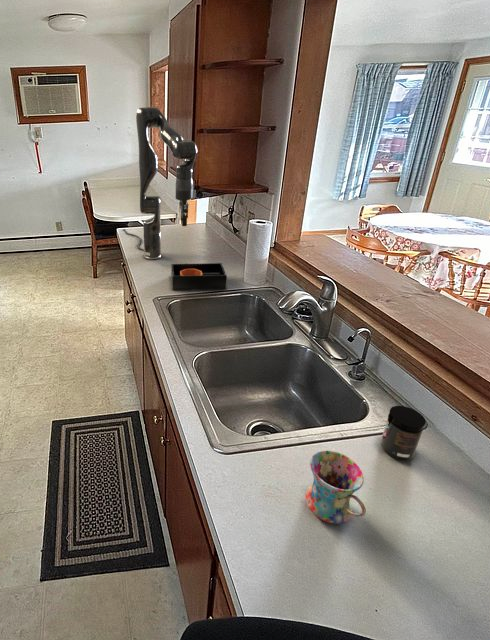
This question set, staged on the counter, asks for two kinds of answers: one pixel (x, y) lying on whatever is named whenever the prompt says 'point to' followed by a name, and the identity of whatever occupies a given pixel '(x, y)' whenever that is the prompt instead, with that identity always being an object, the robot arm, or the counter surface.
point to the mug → (334, 486)
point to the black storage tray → (198, 277)
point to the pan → (195, 272)
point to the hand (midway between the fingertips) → (183, 223)
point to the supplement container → (402, 432)
